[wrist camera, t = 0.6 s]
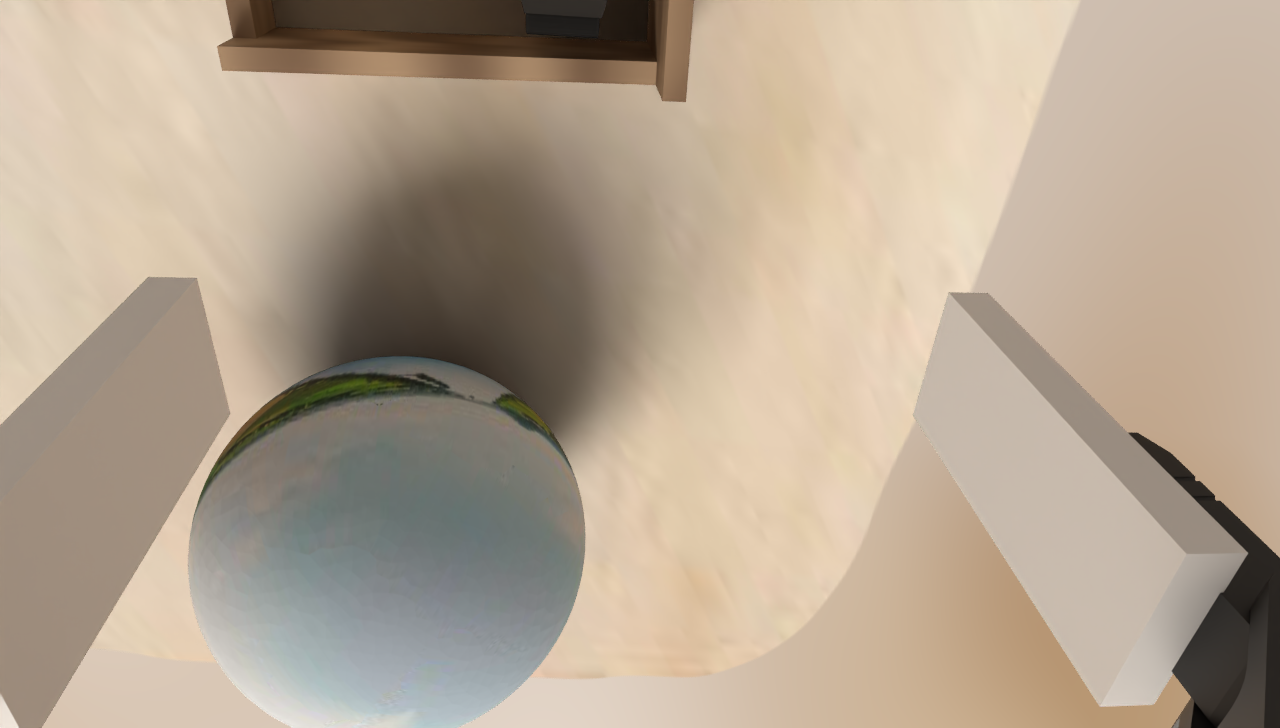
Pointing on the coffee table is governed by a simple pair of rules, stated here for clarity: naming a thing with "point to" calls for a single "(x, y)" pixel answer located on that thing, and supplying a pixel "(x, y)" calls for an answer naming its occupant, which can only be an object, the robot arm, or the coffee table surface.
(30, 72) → the coffee table surface
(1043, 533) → the robot arm
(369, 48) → the tray
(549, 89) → the coffee table surface
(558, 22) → the sign
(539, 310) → the coffee table surface
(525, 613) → the decorative sphere
